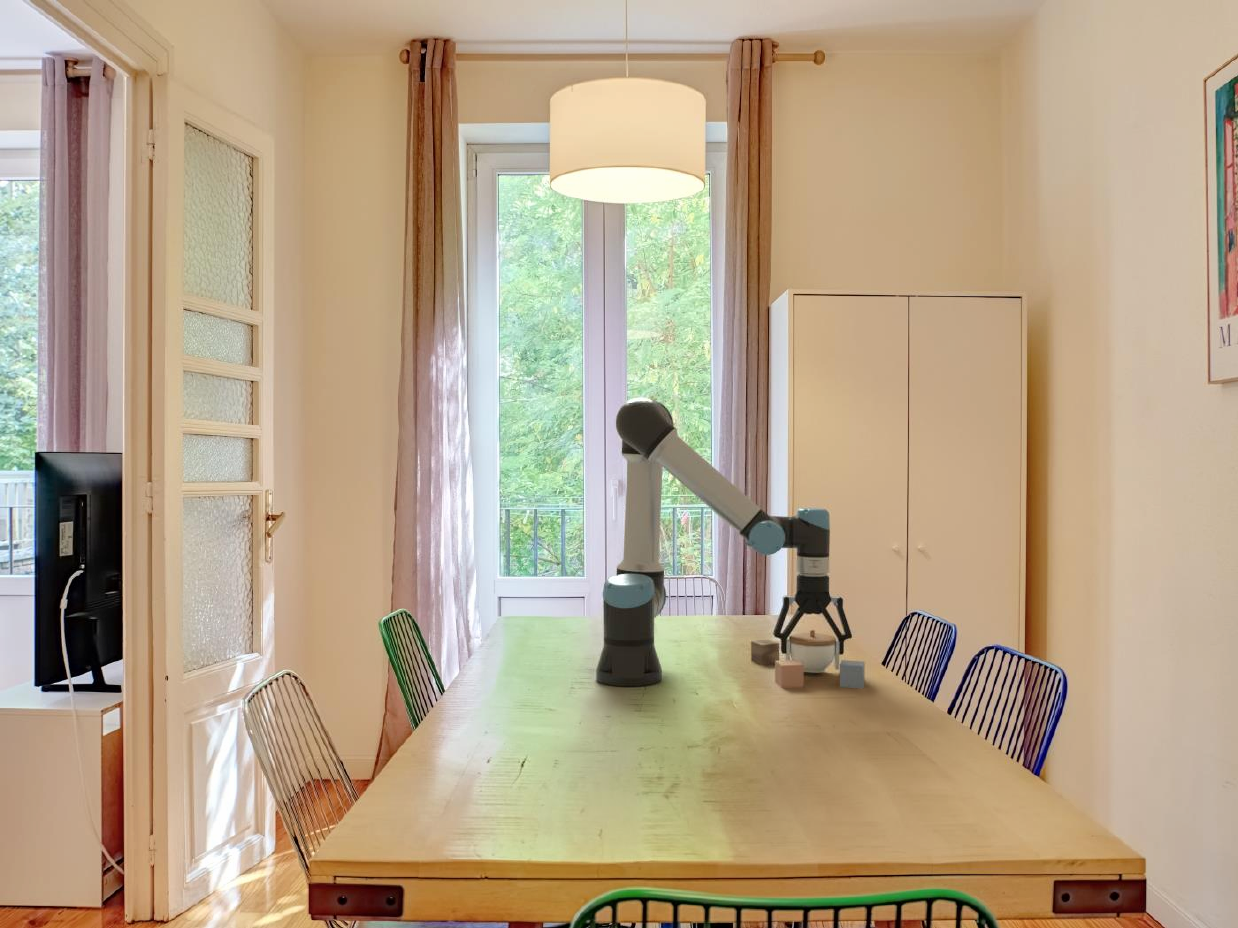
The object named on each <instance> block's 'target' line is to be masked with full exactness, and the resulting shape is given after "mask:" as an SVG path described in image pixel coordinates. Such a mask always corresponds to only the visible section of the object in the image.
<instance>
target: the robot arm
mask: <svg viewBox="0 0 1238 928" xmlns="http://www.w3.org/2000/svg"><path fill="white" fill-rule="evenodd" d="M674 424H675V423H674V420H673V416H672V414H671V412H670V411H669V408H668V407H666V405H664V404H663V403H661V402H660V401H657V400H655V399H654V400H653V399H649V398H644V397H637V398H632V399H630V400H628V401H627V402H625V403H624V404H623V405H622V406H621V407H620V408H619V410H618V412H617V414H616V417H615V427H616V432H617V433H618V436H619V437H620V439H621V456H622V457H623V458H624V459H625V460H626V462H627V463H626V465H627V466H626V485H625V486H626V489H625V490H626V491H625V492H626V493H625V509H624V511H625V513H624V517H625V518H624V533H623V534H624V539H623V559H622V561H621V562H619V564H617V566H616V575H612V576H610V577H608V578H607V579H606V580H605V581H604V583H603V590H602V598H603V599H602V601H603V607H602V608H603V647H602V650H601V653H600V655H599V656H600V657H599V660H598V663H597V667H596V670H595V672H596V673H595V674H596V675H595V679H596V681H597V682H599V683H601V684H604V685H609V686H615V687H617V686H618V687H641V686H642V687H643V686H650V685H653V684H657V683H660V682H661V681H662V680H663V669H662V668H663V667H662V666H661V662H660V660H659V656H658V652H657V650H656V647H655V618H657V616H659V615H660V614H661V612H662V611H663V609H664V607H665V605H666V602H667V591H666V588H665V584H664V583H665V567H664V566H663V565H662V564H661V563H660V561H659V560H660V559H659V557H660V539H661V538H660V537H661V536H660V535H661V517H662V516H661V513H662V493H663V492H662V489H663V469H665V471H667V472H668V473H669V474H670V475H671V476H673V477H674V478H675V479H676V480H677V481H679V482H680V483H681V484H682V485H683V486H684V487H685V488H687V490H688V491H690V492H691V493H692V494H693V495H694V496H695V497H697V498H698V500H700V501H701V502H703V504H704V505H706V506H707V507H708V508H709V509H710V510H712V511H713V512H714V513H715V514H716V515H717V516H718V517H720V518H721V519H722V520H723V521H724V522H725V523H726V524H728V526H730V527H731V528H732V529H733V530H735V531H736V532H737V533H738V534H739V535H740V536H741V537H742V538H743V539H744V541H745V544H746V546H747V547H749V548H752V549H753V550H754V551H755V552H757V553H758V554H760V555H763V556H771V555H774V554H776V553H777V552H779V551H781V550H782V549H796V572H797V573H798V574H797V575H796V593H795V595H794V596H792V595H791V596H788V595H783V596H782V607H781V609H780V611H779V615H778V618H777V620H776V624H775V627H774V629H773V634H772V635H774V637H775V638H778V639H780V651H781V654H782V655H784V654H785V656H784V657H785V660H791V654H790V640H789V636H790V635H792V632H793V631H794V629H795V628H796V626H797V624H798V623H799V621H800V620H801V618H802V617H803V616H804V615H812V614H814V615H821V614H822V615H823V617H824V619H825V620H826V622H827V623H828V625H829V627H830V629H831V630H832V631H833V633H834V635H835V637H836V638H837V639H836V638H835V639H836V643H835V653H834V658H833V668H834V669H835V670H837V671H838V670H839V671H840V655H841V656H843V655H844V653H845V648H844V647H845V644H844V643H845V641H846V640H848V639H852V637H853V634H852V631H851V628H850V625H849V621H848V620H847V616H846V614H845V610H844V599H843V598H842V597H841V596H840V595H837V596H831V594H830V576H829V573H830V544H831V543H830V539H831V538H830V537H831V524H830V513H829V511H828V510H827V509H826V508H819V507H800V508H798V509H797V513H796V515H794V516H779V515H777V516H776V515H769V514H768V513H767V512H766V511H765V510H763V509H762V508H761V507H760V506H759V505H757V504H756V503H755V502H754V501H753V500H751V499H750V497H748V496H747V495H746V494H745V493H743V492H742V491H741V490H740V488H738V487H737V486H735V485H734V484H733V483H732V482H731V481H730V480H729V478H726V476H725V475H723V474H722V473H721V472H720V471H718V470H717V469H716V468H715V467H714V466H713V465H711V463H710V462H709V461H708V460H706V459H705V458H704V457H702V456H701V454H699V453H698V452H697V451H695V450H694V449H693V448H692V447H691V446H690V445H689V444H688V443H687V442H685V441H684V440H683V439H682V438H680V436H679V435H678V429H677V428H676V427H675V426H674ZM794 602H795V603H796V604H797V606H798V608H797V609H796V611H795V613H794V614H793V616H792V618H791V619H790V620H789V622H788V624H787V625H786V626H785V628H784V630H783V631H782V629H783V627H784V624H785V620H786V618H787V616H788V615H787V614H788V612H789V610H790V606H792V605H793V603H794ZM831 602H832V604H833V606H835V608H836V612H837V615H838V617H839V620H840V623H841V627H842V629H843V633H842V632H841V631H840V629H839V628H838V625H837V624H836V623H835V621H834V619H833V618H832V615H831V614H830V612H829V611H828V609H827V607H828V606H829V605H830V604H831Z"/></svg>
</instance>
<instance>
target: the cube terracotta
mask: <svg viewBox="0 0 1238 928" xmlns="http://www.w3.org/2000/svg"><path fill="white" fill-rule="evenodd" d="M774 683H775V684H776V685H778V686H779V687H780V688H786V689H787V688H804V672H803V664H802V663H800V662H799V661H797V660H792V659H790V660H784V659H783V660H779V661H775V664H774Z"/></svg>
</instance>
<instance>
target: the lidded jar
mask: <svg viewBox="0 0 1238 928" xmlns="http://www.w3.org/2000/svg"><path fill="white" fill-rule="evenodd" d="M788 639H789V640H790V659H791V660H797V661H799V662H800V663H802V664H803V673H804V672H805V673H813V674H816V673H817V674H819V673H824V672H825V671H826V669H828V668H829V667H830V666H831V665H832V663H833V662H834V653H835V643H836V636H833V635H830V634H825V633H818V632H817V633H816V631H815V629H810V630H809V632H799V633H798V632H797V633H793V634H792V633H791V634H790V635H789V637H788Z"/></svg>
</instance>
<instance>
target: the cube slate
mask: <svg viewBox="0 0 1238 928" xmlns="http://www.w3.org/2000/svg"><path fill="white" fill-rule="evenodd" d="M865 663H866V661H864V660H861V661H860V660H848V659H847V660H846V659H842V660H841V661H840V662H839V687H840V688H851V689H864V686H865V684H866V681H865V679H866V678H865V673H866V672H865V668H866V667H865Z"/></svg>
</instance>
